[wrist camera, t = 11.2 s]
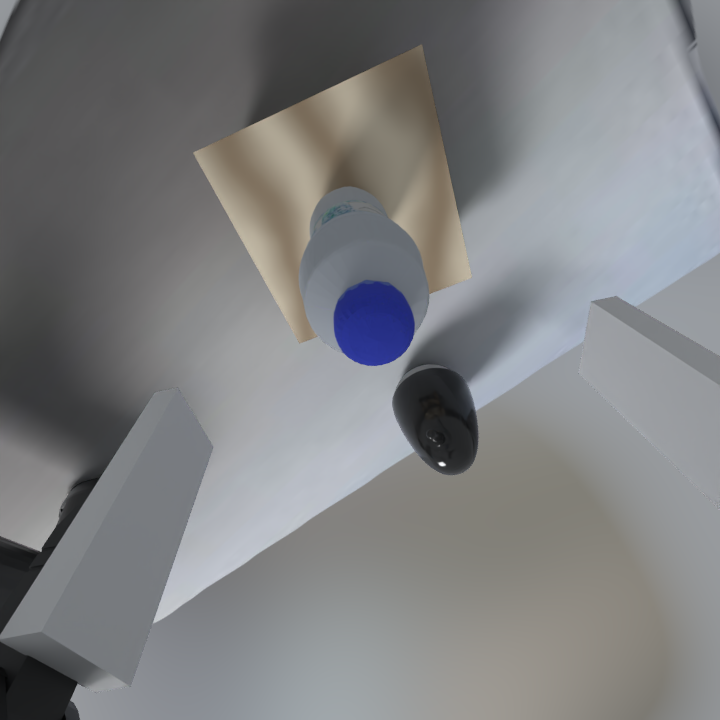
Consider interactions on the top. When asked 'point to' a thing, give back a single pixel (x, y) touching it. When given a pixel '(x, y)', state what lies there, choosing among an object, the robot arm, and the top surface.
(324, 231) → the bottle
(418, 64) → the footstool
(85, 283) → the top surface
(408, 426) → the pump dispenser
